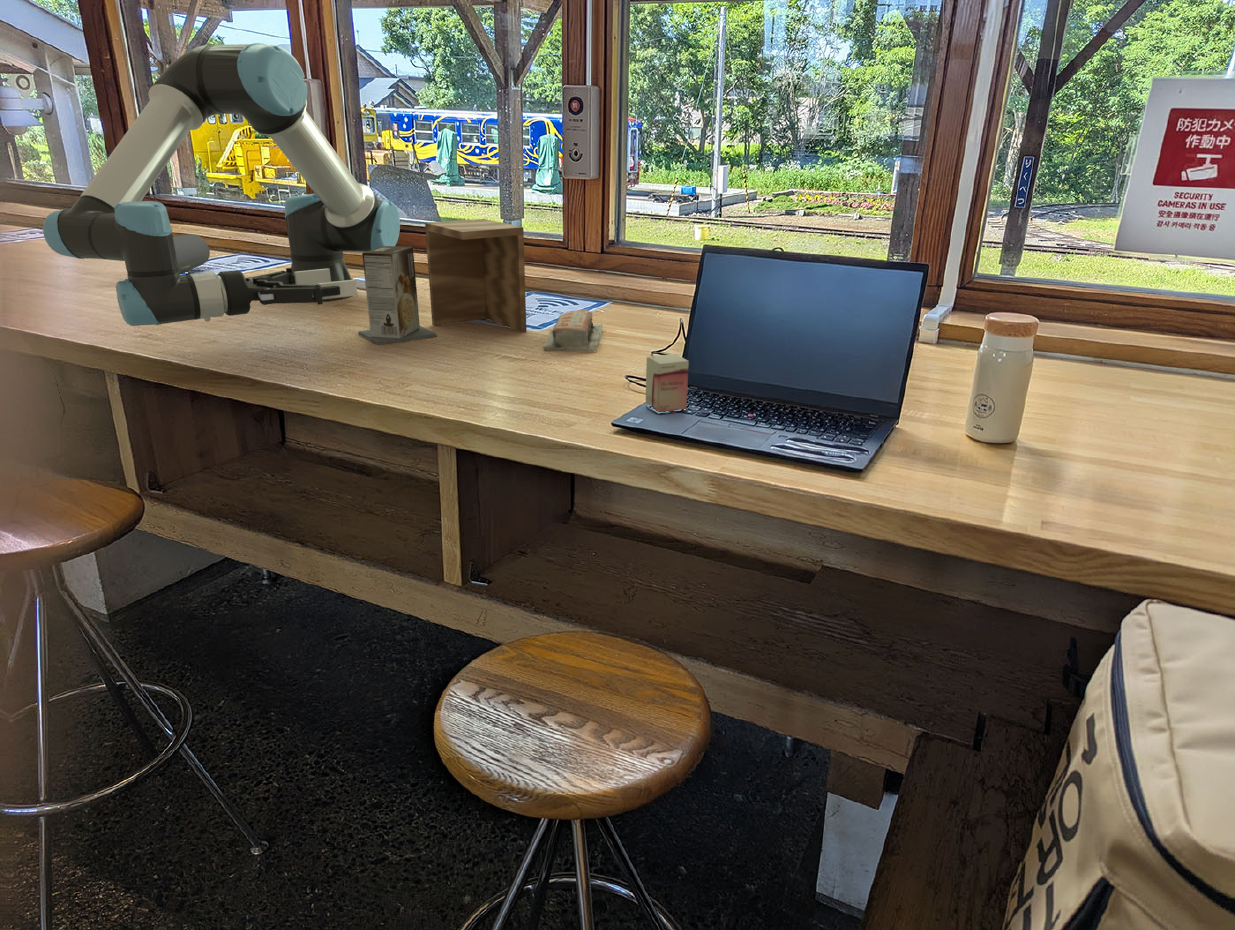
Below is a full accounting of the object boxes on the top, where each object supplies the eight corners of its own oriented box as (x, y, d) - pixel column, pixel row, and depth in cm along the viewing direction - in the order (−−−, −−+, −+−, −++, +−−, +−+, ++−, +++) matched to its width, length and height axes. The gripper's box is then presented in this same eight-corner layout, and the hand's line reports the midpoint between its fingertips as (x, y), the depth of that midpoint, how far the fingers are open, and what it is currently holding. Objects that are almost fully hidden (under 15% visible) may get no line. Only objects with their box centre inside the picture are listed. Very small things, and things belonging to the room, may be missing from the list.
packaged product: (597, 328, 158) (543, 327, 159) (597, 354, 160) (543, 353, 160) (603, 307, 175) (554, 306, 175) (603, 331, 177) (554, 330, 177)
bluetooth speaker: (182, 269, 236) (176, 231, 232) (214, 270, 235) (208, 232, 231) (128, 284, 215) (119, 243, 211) (162, 285, 214) (155, 244, 210)
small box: (657, 415, 127) (658, 363, 124) (644, 407, 131) (645, 356, 128) (687, 411, 129) (689, 360, 126) (674, 403, 132) (676, 353, 129)
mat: (358, 334, 170) (358, 331, 170) (415, 326, 177) (415, 323, 177) (377, 344, 163) (377, 341, 162) (436, 336, 169) (436, 333, 169)
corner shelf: (432, 324, 178) (424, 222, 171) (488, 317, 185) (483, 218, 178) (468, 340, 166) (462, 231, 159) (526, 331, 174) (523, 227, 166)
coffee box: (390, 326, 174) (383, 245, 168) (420, 328, 173) (414, 246, 167) (369, 337, 166) (361, 251, 160) (400, 339, 164) (393, 253, 158)
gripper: (207, 303, 159) (322, 290, 171) (244, 330, 141) (370, 314, 152) (200, 261, 156) (317, 251, 168) (236, 283, 138) (365, 270, 149)
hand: (342, 281), depth 160 cm, fingers open, 13 cm apart
